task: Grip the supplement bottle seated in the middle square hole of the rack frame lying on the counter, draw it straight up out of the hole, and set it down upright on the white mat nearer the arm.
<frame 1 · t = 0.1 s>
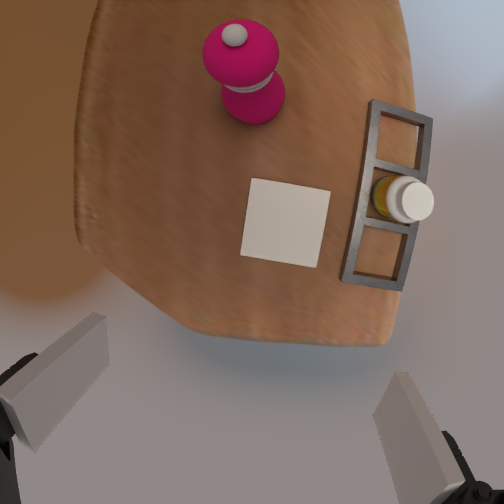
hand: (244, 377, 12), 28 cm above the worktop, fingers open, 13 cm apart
pepper mill: (256, 102, 35), on the worktop
rack frame: (388, 196, 36), on the worktop
supplement bottle: (387, 196, 36), resting in rack frame
white mat: (284, 222, 38), on the worktop
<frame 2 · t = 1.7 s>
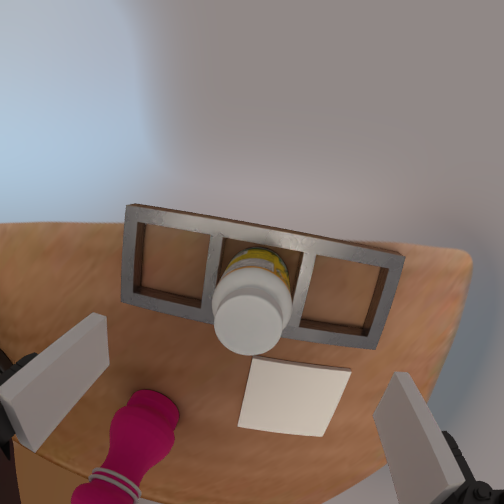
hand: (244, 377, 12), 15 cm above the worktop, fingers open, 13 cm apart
pepper mill: (155, 407, 31), on the worktop
rack frame: (257, 276, 26), on the worktop
supplement bottle: (257, 275, 26), resting in rack frame
white mat: (291, 399, 29), on the worktop
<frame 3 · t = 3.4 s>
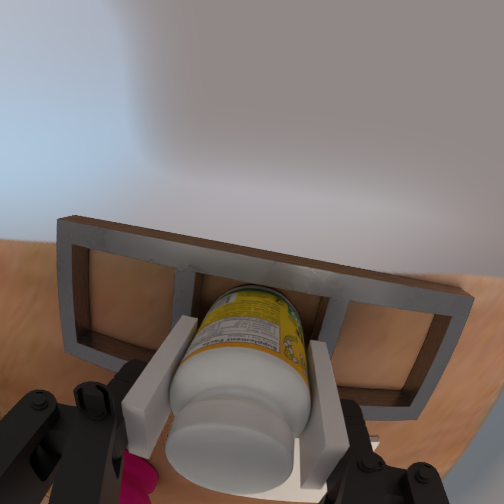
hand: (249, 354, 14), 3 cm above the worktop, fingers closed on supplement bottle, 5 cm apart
pepper mill: (129, 464, 22), on the worktop
rack frame: (254, 328, 17), on the worktop
supplement bottle: (254, 326, 17), resting in rack frame, touching gripper
white mat: (298, 470, 19), on the worktop
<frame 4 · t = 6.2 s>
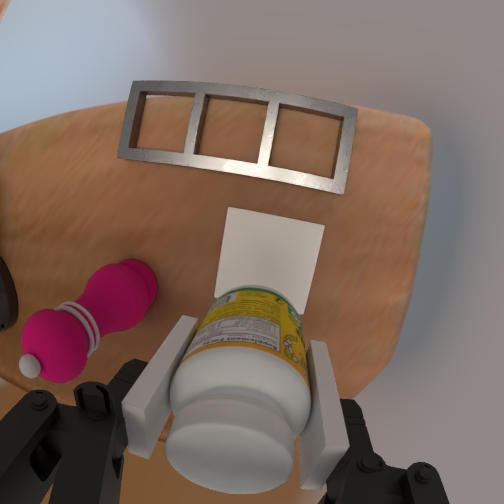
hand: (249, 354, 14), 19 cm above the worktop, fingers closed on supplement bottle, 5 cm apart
pepper mill: (135, 283, 34), on the worktop
rack frame: (233, 130, 29), on the worktop
supplement bottle: (254, 325, 17), point 16 cm above the worktop, touching gripper
white mat: (267, 261, 32), on the worktop
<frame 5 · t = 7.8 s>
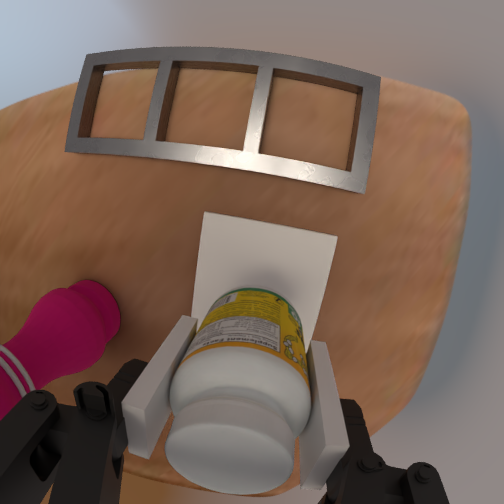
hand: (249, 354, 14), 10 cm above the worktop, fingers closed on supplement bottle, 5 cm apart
pepper mill: (95, 309, 26), on the worktop
rack frame: (211, 107, 21), on the worktop
supplement bottle: (254, 326, 17), point 7 cm above the worktop, touching gripper
white mat: (259, 285, 24), on the worktop
when the fingers open (5 cm above the worktop, at t = 9.1 s): supplement bottle drops 1 cm, resting on white mat.
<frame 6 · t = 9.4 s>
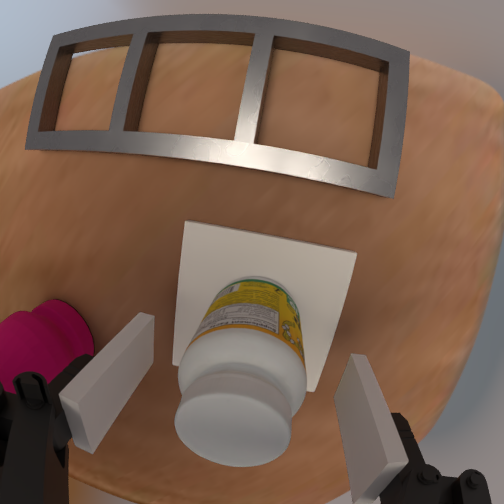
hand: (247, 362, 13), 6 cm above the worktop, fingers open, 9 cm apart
pepper mill: (66, 332, 21), on the worktop
rack frame: (194, 87, 16), on the worktop
supplement bottle: (255, 315, 18), resting on white mat
white mat: (256, 313, 18), on the worktop
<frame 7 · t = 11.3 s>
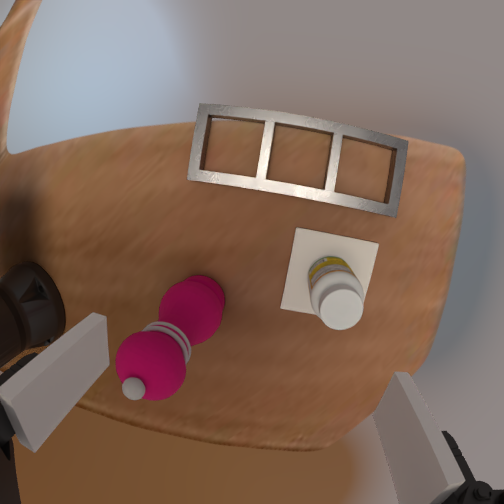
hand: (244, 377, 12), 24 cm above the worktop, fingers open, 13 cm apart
pepper mill: (201, 297, 38), on the worktop
rack frame: (299, 156, 32), on the worktop
supplement bottle: (329, 276, 35), resting on white mat
white mat: (329, 275, 35), on the worktop
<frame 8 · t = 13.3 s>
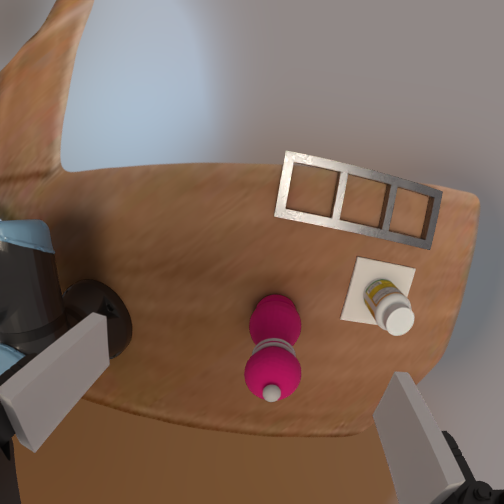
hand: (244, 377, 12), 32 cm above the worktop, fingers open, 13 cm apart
pepper mill: (275, 312, 45), on the worktop
rack frame: (362, 201, 40), on the worktop
supplement bottle: (378, 293, 43), resting on white mat
white mat: (378, 293, 43), on the worktop
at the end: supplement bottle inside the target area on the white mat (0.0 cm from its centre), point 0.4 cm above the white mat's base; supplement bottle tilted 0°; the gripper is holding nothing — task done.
